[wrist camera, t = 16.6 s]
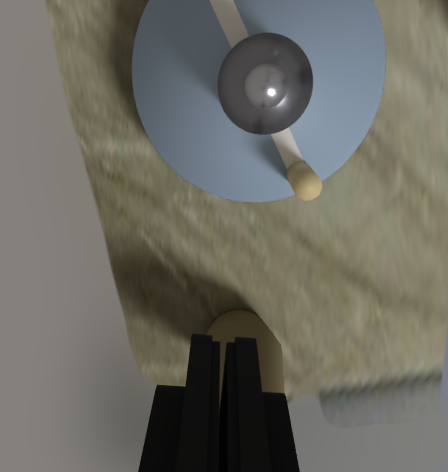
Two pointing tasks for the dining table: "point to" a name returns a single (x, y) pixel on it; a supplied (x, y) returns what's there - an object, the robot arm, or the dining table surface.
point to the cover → (265, 83)
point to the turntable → (210, 110)
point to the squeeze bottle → (267, 345)
